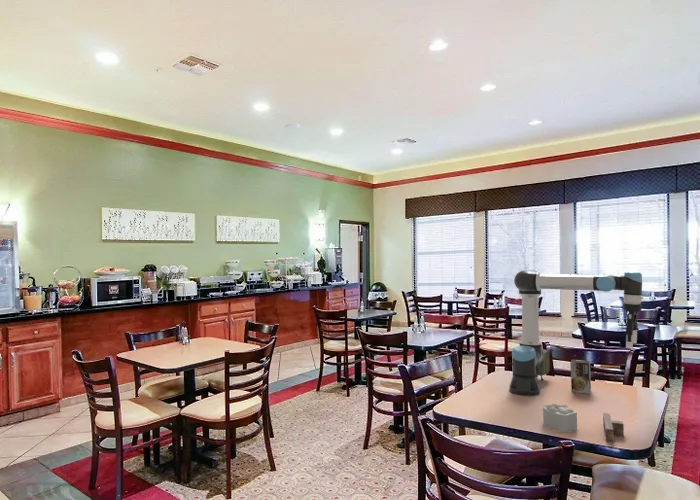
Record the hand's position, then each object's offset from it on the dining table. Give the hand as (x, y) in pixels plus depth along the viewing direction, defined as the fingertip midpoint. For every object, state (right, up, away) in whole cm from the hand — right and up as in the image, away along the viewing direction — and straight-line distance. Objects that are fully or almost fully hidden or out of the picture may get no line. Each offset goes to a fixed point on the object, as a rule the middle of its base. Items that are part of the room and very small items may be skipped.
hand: (631, 345), depth 223 cm
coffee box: (-17, -28, +15) cm, 36 cm away
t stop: (-34, -26, -43) cm, 61 cm away
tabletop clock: (-30, -29, +39) cm, 57 cm away
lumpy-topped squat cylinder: (-52, -27, -34) cm, 68 cm away
